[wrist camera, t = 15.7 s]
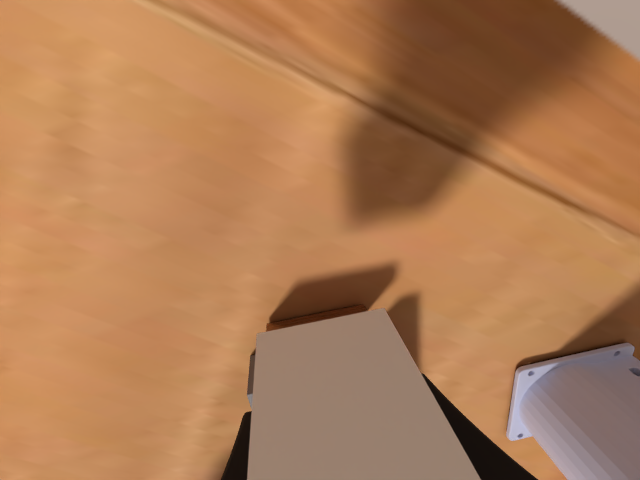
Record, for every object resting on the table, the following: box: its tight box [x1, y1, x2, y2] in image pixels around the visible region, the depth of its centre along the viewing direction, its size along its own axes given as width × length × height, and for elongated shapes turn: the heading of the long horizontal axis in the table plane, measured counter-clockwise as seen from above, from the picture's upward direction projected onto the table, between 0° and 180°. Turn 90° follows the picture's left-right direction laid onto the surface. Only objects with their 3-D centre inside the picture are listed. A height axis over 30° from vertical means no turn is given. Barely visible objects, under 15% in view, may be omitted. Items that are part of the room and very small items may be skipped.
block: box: [247, 308, 481, 480], centre depth 9 cm, size 5×5×6 cm
